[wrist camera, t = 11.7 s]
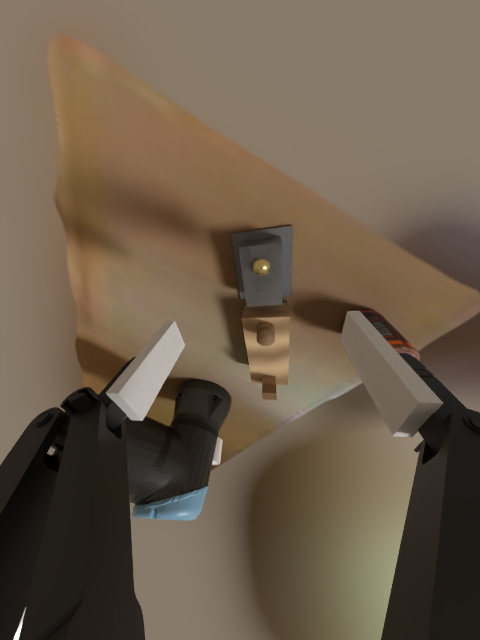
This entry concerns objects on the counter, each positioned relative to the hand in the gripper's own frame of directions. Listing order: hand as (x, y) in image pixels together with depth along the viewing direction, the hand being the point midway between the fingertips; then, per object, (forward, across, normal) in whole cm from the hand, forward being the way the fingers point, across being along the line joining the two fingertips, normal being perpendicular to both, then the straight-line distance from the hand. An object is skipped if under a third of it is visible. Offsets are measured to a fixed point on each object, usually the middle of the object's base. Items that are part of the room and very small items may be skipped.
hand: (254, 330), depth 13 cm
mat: (+15, +1, 0) cm, 15 cm away
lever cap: (+14, +1, 0) cm, 14 cm away
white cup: (+16, -22, -64) cm, 70 cm away
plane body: (+15, +1, -13) cm, 20 cm away
